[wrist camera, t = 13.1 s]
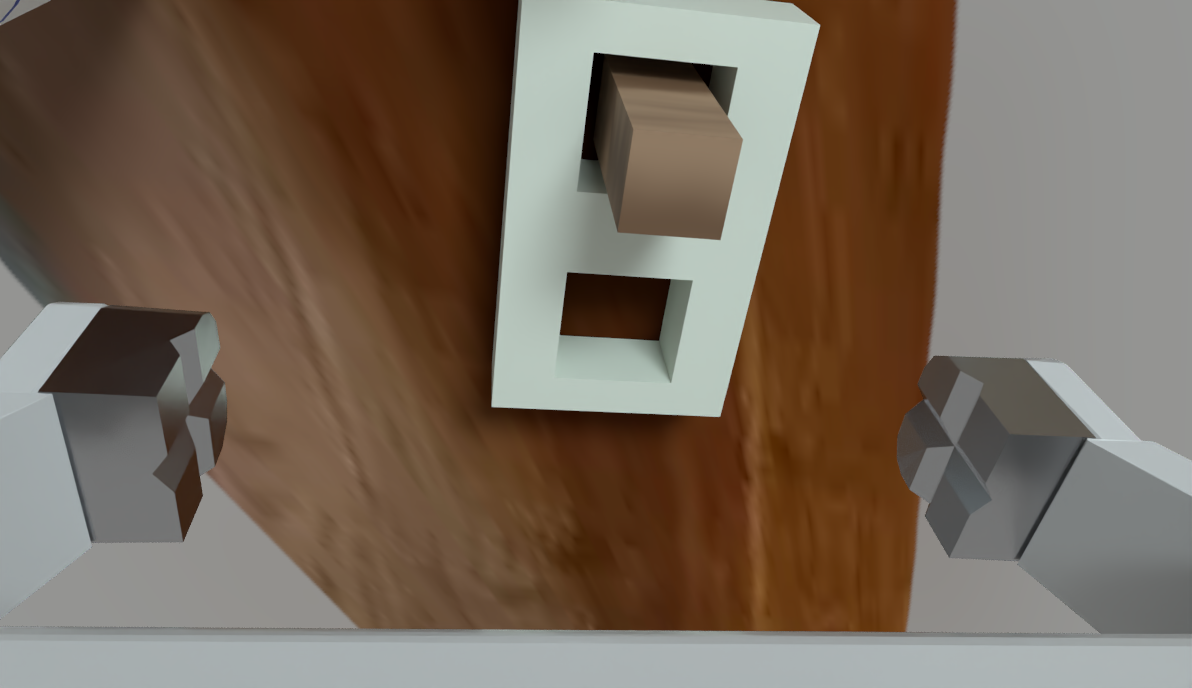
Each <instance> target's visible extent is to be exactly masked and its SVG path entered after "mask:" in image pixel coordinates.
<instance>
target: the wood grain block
mask: <svg viewBox="0 0 1192 688" xmlns="http://www.w3.org/2000/svg"><path fill="white" fill-rule="evenodd" d="M593 141H594V145H595V149H596V152H597V156H598V160H599V164H600V168H601V171H602V175H603V179H604V183H605V187H606V190H607V194H608V198H609V202H610V206H611V209H612V213H613V217H614V221H615V225H616V228H617V232H618V233H631V234H644V235H658V236H671V237H685V238H698V239H711V240H721V236H722V231H723V227H724V222H725V218H726V213H727V209H728V205H729V200H730V196H731V191H732V187H733V182H734V178H735V174H736V169H737V165H738V160H739V156H740V151H741V147H742V142H743V138H742V137H741V136H740V134H739V133H738V131H737V130H736V128H735V127H734V125H733V124H732V122H731V121H730V119H729V118H728V116H727V115H726V114H725V112H724V111H723V109H722V108H721V106H720V105H719V103H718V102H717V100H716V99H715V97H714V96H713V94H712V93H711V91H710V90H709V89H708V87H707V86H706V84H705V83H704V81H703V80H702V78H701V77H700V75H699V74H698V72H697V71H696V69H695V68H694V67H693V65H692V64H691V63H687V62H678V61H668V60H659V59H649V58H640V57H630V56H621V55H611V54H604V60H603V67H602V75H601V83H600V91H599V99H598V106H597V114H596V122H595V130H594V137H593Z"/></svg>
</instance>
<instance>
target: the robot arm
mask: <svg viewBox="0 0 1192 688" xmlns="http://www.w3.org/2000/svg"><path fill="white" fill-rule="evenodd" d="M219 349H220V343H219V337H218V331H217V325H216V321H215V319H214V318H213V317H212V315H211V314H210V312H198V311H185V310H172V309H159V308H146V307H133V306H119V305H109V306H108V305H106V304H97V303H74V302H56V303H51V304H48V305H47V306H46V307H45V308H44V309H43V310H42V311H41V312H40V314H38V316H37V317H36V318H35V319H34V320H33V321H32V322H31V324H30V325H29V326H28V327H27V328H26V329H25V330H24V332H23V333H22V334H21V335H20V336H19V337H18V339H17V340H16V341H15V342H14V343H13V344H12V345H11V346H10V348H9V349H8V350H7V351H6V352H5V353H4V355H3V356H2V357H1V358H0V619H1V618H3V617H4V616H5V615H6V614H8V613H9V612H10V611H11V610H13V609H14V608H15V607H16V606H18V605H19V604H20V603H21V602H23V601H24V600H25V599H27V598H28V597H29V596H30V595H32V594H33V593H34V592H36V591H37V590H38V589H39V588H41V587H42V586H43V585H44V584H46V583H47V582H48V581H50V580H51V579H52V578H53V577H54V576H56V575H57V574H58V573H60V572H61V571H62V570H64V568H66V567H67V566H69V565H70V564H71V563H72V562H74V561H75V560H76V559H78V558H79V557H80V556H81V555H83V554H84V553H85V552H86V551H87V550H89V549H90V548H92V544H91V543H100V542H101V543H102V542H103V543H104V542H105V543H111V542H112V543H113V542H183V541H184V539H185V537H186V534H187V532H188V529H189V527H190V525H191V522H192V520H193V518H194V515H195V513H196V511H197V508H198V506H199V503H200V501H201V499H202V496H203V494H202V487H201V481H200V476H201V475H203V474H204V473H206V472H207V471H209V470H210V469H212V468H213V467H215V465H216V462H217V460H218V457H219V455H220V452H221V449H222V446H223V440H224V435H225V429H226V423H227V398H226V389H225V382H224V381H223V380H222V379H221V378H220V377H219V376H218V375H217V374H216V373H215V372H214V371H213V370H212V369H211V366H212V364H213V362H214V360H215V358H216V356H217V354H218V352H219ZM918 387H919V389H920V392H921V395H922V397H923V400H922V401H921V402H920V403H919V404H917V405H916V406H915V407H914V408H912V409H911V410H910V411H909V412H907V413H906V414H905V417H904V420H903V422H902V425H901V428H900V431H899V434H898V440H897V460H898V464H899V468H900V472H901V475H902V477H903V478H904V480H905V482H906V484H907V486H908V488H909V489H910V490H911V491H913V492H914V493H916V494H917V495H918V496H920V497H921V498H923V499H924V500H926V501H927V502H928V503H929V505H928V508H927V511H926V514H925V517H926V519H927V520H928V522H929V524H930V526H931V527H932V529H933V531H934V533H935V534H936V536H937V538H938V539H939V541H940V543H941V545H942V546H943V548H944V550H945V551H946V553H947V555H948V556H949V558H962V559H983V560H984V559H985V560H1004V561H1019V562H1018V564H1017V565H1019V566H1020V567H1021V568H1022V569H1024V570H1025V571H1026V572H1027V573H1028V574H1030V575H1031V576H1032V577H1033V578H1034V579H1036V580H1037V581H1038V582H1039V583H1040V584H1042V585H1043V586H1044V587H1045V588H1047V589H1048V590H1049V591H1050V592H1051V593H1052V594H1054V595H1055V596H1056V597H1057V598H1059V599H1060V600H1061V601H1062V602H1063V603H1064V604H1066V605H1067V606H1068V607H1069V608H1070V609H1072V610H1073V611H1074V612H1075V613H1076V614H1078V615H1079V616H1080V617H1081V618H1083V619H1084V620H1085V621H1086V622H1087V623H1089V624H1090V625H1091V626H1092V627H1093V628H1095V629H1096V630H1097V631H1098V632H1099V633H1101V634H1085V633H1083V634H1080V633H1079V634H1078V633H950V632H949V633H947V632H945V633H944V632H937V633H936V632H816V631H618V630H469V629H325V628H323V629H321V628H317V629H316V628H181V627H178V628H177V627H176V628H175V627H174V628H173V627H38V626H37V627H36V626H30V627H28V626H0V688H1192V461H1191V460H1189V459H1187V458H1185V457H1183V456H1181V455H1179V454H1177V453H1175V452H1173V451H1171V450H1169V449H1167V448H1165V447H1163V446H1161V445H1159V444H1157V443H1155V442H1151V441H1141V440H1140V439H1139V438H1138V437H1137V436H1136V435H1135V434H1134V433H1133V432H1132V431H1131V430H1130V429H1129V428H1128V427H1127V426H1126V425H1125V424H1124V423H1123V422H1122V421H1121V420H1120V419H1119V418H1118V416H1117V415H1116V414H1115V413H1114V412H1112V410H1111V409H1110V408H1109V407H1108V406H1107V405H1106V404H1105V403H1104V402H1103V401H1102V400H1101V399H1100V398H1099V397H1098V396H1097V395H1096V394H1095V393H1094V392H1093V391H1092V390H1091V389H1090V388H1089V387H1088V386H1087V385H1086V384H1085V383H1084V382H1083V381H1082V380H1081V379H1080V378H1079V377H1078V376H1077V375H1076V374H1075V373H1074V372H1073V371H1072V370H1071V368H1069V366H1067V364H1065V363H1063V362H1060V361H1058V360H1055V359H1045V358H991V357H990V358H989V357H960V356H934V357H933V358H932V359H931V360H930V361H929V363H928V364H927V365H926V366H925V368H924V370H923V372H922V375H921V377H920V379H919V382H918Z"/></svg>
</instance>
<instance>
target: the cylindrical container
mask: <svg viewBox="0 0 1192 688" xmlns="http://www.w3.org/2000/svg"><path fill="white" fill-rule="evenodd" d="M49 1H51V0H0V25H2V24H4V23H6V22H8V21H10V20H12V19H14V18H16V17H18V16H20V15H22V14H24V13H26V12H28V11H30V10H33V9H35V8H37V7H39V6H41V5H43V4H45V3H47V2H49Z"/></svg>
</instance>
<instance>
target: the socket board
mask: <svg viewBox="0 0 1192 688" xmlns="http://www.w3.org/2000/svg"><path fill="white" fill-rule="evenodd" d="M819 28H820V25H819V24H818V23H817V22H816V21H814V20H813V19H812V18H810V17H809V16H808V15H806V14H805V13H804V12H802V11H801V10H800V9H799V8H797V7H796V6H795V5H793V4H791V3H783V2H774V1H766V0H519V2H518V15H517V29H516V42H515V56H514V70H513V83H512V97H511V111H510V124H509V138H508V152H507V165H506V179H505V193H504V206H503V220H502V233H501V247H500V261H499V274H498V288H497V302H496V315H495V329H494V343H493V356H492V407H503V408H527V409H550V410H573V411H597V412H620V413H643V414H666V415H690V416H713V417H720V415H721V411H722V407H723V403H724V399H725V395H726V392H727V388H728V384H729V380H730V376H731V372H732V368H733V364H734V360H735V356H736V352H737V349H738V345H739V341H740V337H741V333H742V329H743V325H744V321H745V317H746V313H747V309H748V306H749V302H750V298H751V294H752V290H753V286H754V282H755V278H756V274H757V270H758V266H759V263H760V259H761V255H762V251H763V247H764V243H765V239H766V235H767V231H768V227H769V223H770V220H771V216H772V212H773V208H774V204H775V200H776V196H777V192H778V188H779V184H780V180H781V177H782V173H783V169H784V165H785V161H786V157H787V153H788V149H789V145H790V141H791V137H792V134H793V130H794V126H795V122H796V118H797V114H798V110H799V106H800V102H801V98H802V94H803V91H804V87H805V83H806V79H807V75H808V71H809V67H810V63H811V59H812V55H813V51H814V48H815V44H816V40H817V36H818V32H819ZM594 52H595V53H605V54H614V55H624V56H633V57H643V58H652V59H662V60H671V61H681V62H690V63H700V64H710V65H713V68H712V73H711V78H710V83H709V88H708V89H709V90H710V91H711V93H712V94H713V96H714V97H715V99H716V100H717V102H718V103H719V105H720V106H721V108H722V109H723V111H724V112H725V114H726V115H727V116H728V118H729V119H730V121H731V122H732V124H733V125H734V127H735V128H736V130H737V131H738V133H739V134H740V136H741V137H742V138H743V142H742V147H741V151H740V156H739V160H738V165H737V169H736V174H735V178H734V182H733V187H732V191H731V196H730V200H729V205H728V209H727V213H726V218H725V222H724V227H723V231H722V236H721V240H711V239H698V238H685V237H671V236H658V235H644V234H631V233H618V232H617V228H616V225H615V221H614V217H613V213H612V209H611V206H610V202H609V198H608V194H607V190H606V187H605V183H604V179H603V175H602V171H601V168H600V164H599V161H597V160H585V159H581V153H582V145H583V137H584V129H585V120H586V112H587V104H588V96H589V88H590V79H591V71H592V63H593V55H594ZM567 272H573V273H588V274H603V275H618V276H633V277H648V278H663V279H671V282H670V287H669V292H668V298H667V303H666V308H665V313H664V318H663V323H662V328H661V333H660V338H659V341H653V340H635V339H618V338H600V337H582V336H564V335H559V334H560V326H561V318H562V310H563V301H564V293H565V285H566V277H567Z"/></svg>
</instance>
